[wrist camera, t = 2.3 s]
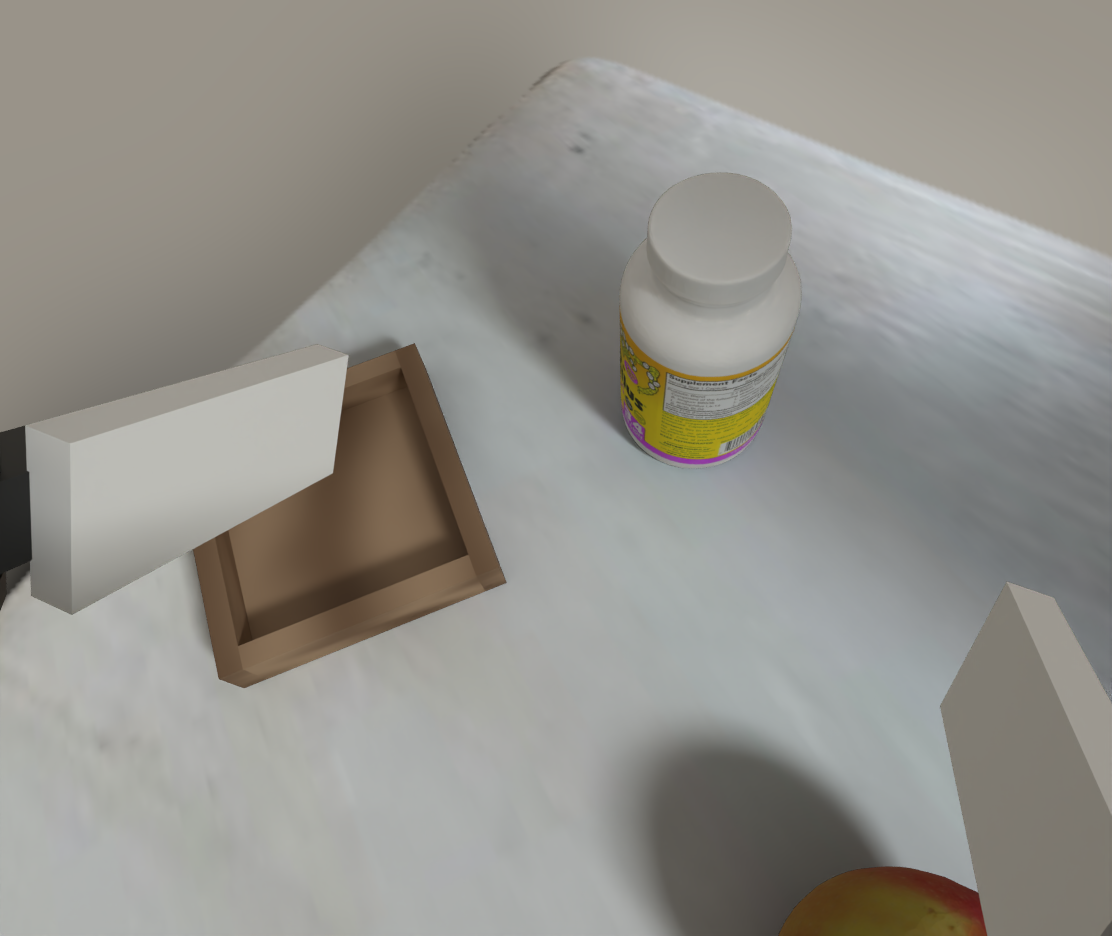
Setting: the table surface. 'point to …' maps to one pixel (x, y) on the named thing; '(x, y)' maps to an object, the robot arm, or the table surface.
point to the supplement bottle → (706, 319)
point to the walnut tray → (352, 536)
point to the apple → (887, 906)
